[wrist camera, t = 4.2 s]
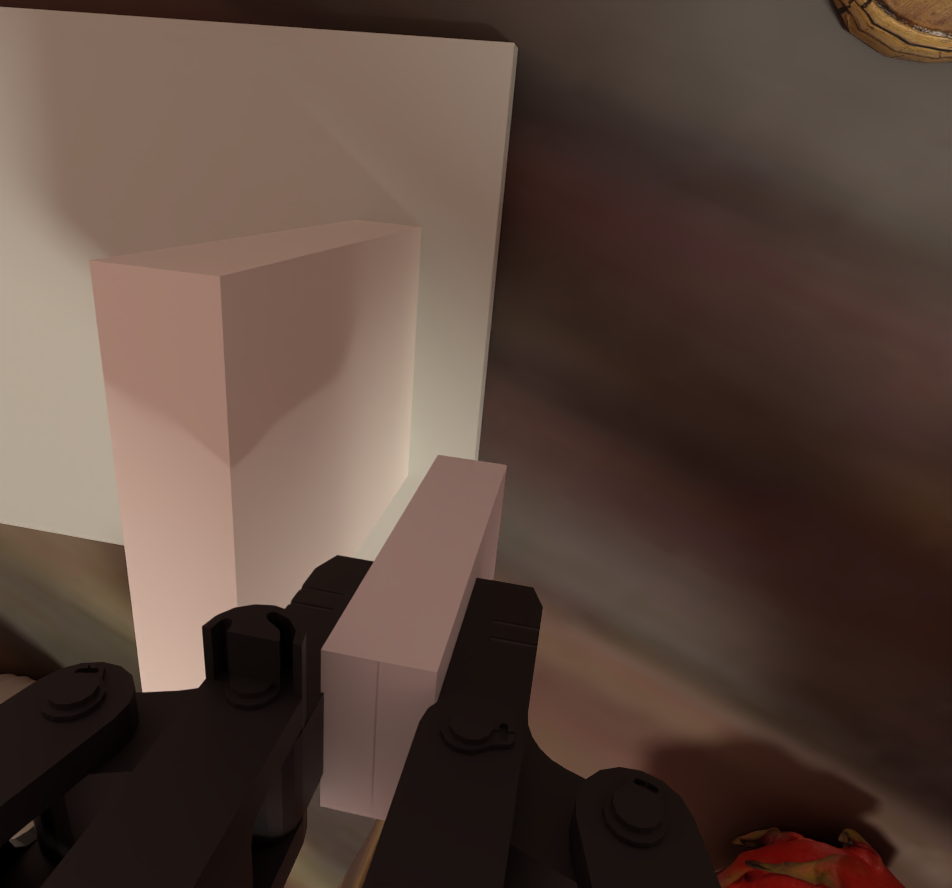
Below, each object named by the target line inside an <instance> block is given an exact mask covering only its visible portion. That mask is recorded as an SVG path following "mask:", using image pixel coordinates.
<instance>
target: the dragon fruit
mask: <svg viewBox="0 0 952 888" xmlns="http://www.w3.org/2000/svg"><path fill="white" fill-rule="evenodd" d="M838 840H839V841H840V842H841V844H842V845H843V848H841V849H840V848H836V847H834V846H831V845H829V844H826V843H823V842H817V841H814V840H812V839H808V838H804V837H803V836H802V835H800V834H797V833H795V832H781V831H780V830H779V829H778V828H775V827H774V828H769V829H766V830H759V831H754V832H751V833H748V834H746V835H744V836H738V837H737V838H736V839H735V840H733V841H732V842H731V843H732V844H740V845H742V846H747V847H749V848H751V849H755V850H750V851H745V852H743V853H741V854H739V855H738V857H737V858H736V859H735V861H734V862H733V863H732V864H731V865H730V866H729V867H727V868H725V869H722V870H721V871H719V872H715V873H716V875H717V878H718V880H719V883H720V885H721V888H905V887H904V886H903V885H902V884H901V883H900V882H899V881H898V880H897V879H896V877H895V876H894V875H893V874H892V873H891V872H890V871H889V869H888V868H887V867H886V866H885V865H884V864H883V862H882V859H881V857H880V855H879V854H878V853H877V852H876V851H875V850H874V849H873V847H872V846H871V845H870V844H868V843H867V842H866V841H865V840H864V839H863V837H862V836H861V835H860V834H859V833H858V832H856V831H854V830H852V829H844V830H843V831H842V833H841V834H840V836H839V839H838Z"/></svg>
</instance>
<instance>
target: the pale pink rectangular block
mask: <svg viewBox="0 0 952 888" xmlns="http://www.w3.org/2000/svg"><path fill="white" fill-rule="evenodd" d="M421 228H422V227H419V226H410V225H401V224H391V223H382V222H373V221H364V220H350V221H344V222H337V223H330V224H324V225H317V226H311V227H304V228H298V229H291V230H285V231H278V232H271V233H265V234H258V235H252V236H245V237H239V238H232V239H226V240H219V241H212V242H206V243H199V244H193V245H186V246H180V247H173V248H167V249H160V250H154V251H147V252H140V253H134V254H127V255H121V256H114V257H108V258H101V259H95V260H89V263H90V271H91V280H92V288H93V296H94V304H95V312H96V320H97V328H98V336H99V344H100V352H101V361H102V369H103V377H104V385H105V393H106V401H107V409H108V417H109V425H110V433H111V442H112V450H113V458H114V466H115V474H116V482H117V490H118V498H119V506H120V514H121V523H122V531H123V539H124V547H125V555H126V563H127V571H128V579H129V587H130V595H131V603H132V612H133V620H134V628H135V636H136V644H137V652H138V660H139V668H140V676H141V684H142V692H159V691H179V690H187V689H194V688H199V686H200V685H201V684H202V683H203V681H204V680H205V679H206V675H205V662H204V649H203V636H202V626H203V625H204V624H206V623H207V622H208V621H209V620H211V619H212V618H213V617H214V616H216V615H218V614H220V613H223V612H225V611H228V610H230V609H232V608H235V607H241V606H247V605H253V604H261V605H275V606H278V607H281V608H284V609H285V608H286V607H287V605H288V604H289V605H290V603H291V600H292V599H293V597H294V596H295V595H296V593H297V592H298V591H299V589H300V590H301V588H302V585H303V584H304V582H305V581H306V580H307V578H308V577H309V576H310V574H311V573H312V572H313V570H314V569H315V568H316V567H318V566H320V565H321V564H323V563H325V562H326V561H328V560H330V559H331V558H333V557H335V556H336V555H341V556H346V557H352V558H353V557H354V555H355V554H356V552H357V551H358V549H359V548H360V546H361V545H362V543H363V542H364V540H365V539H366V537H367V536H368V534H369V533H370V531H371V530H372V528H373V527H374V525H375V524H376V522H377V521H378V519H379V518H380V516H381V515H382V514H383V512H384V511H385V509H386V508H387V506H388V505H389V503H390V502H391V500H392V499H393V497H394V496H395V494H396V493H397V491H398V490H399V488H400V487H401V485H402V484H403V482H404V481H405V479H406V478H407V476H408V462H409V444H410V426H411V408H412V390H413V372H414V354H415V336H416V318H417V300H418V282H419V264H420V246H421Z"/></svg>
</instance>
